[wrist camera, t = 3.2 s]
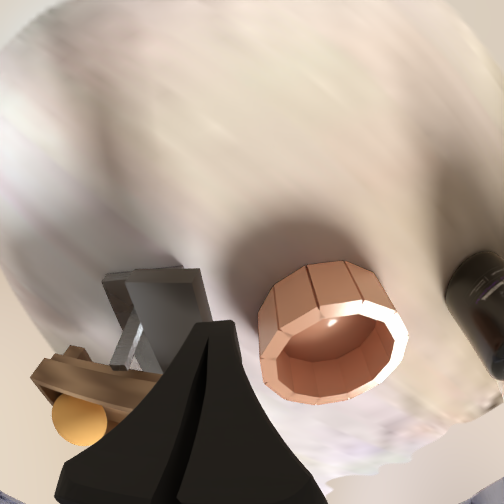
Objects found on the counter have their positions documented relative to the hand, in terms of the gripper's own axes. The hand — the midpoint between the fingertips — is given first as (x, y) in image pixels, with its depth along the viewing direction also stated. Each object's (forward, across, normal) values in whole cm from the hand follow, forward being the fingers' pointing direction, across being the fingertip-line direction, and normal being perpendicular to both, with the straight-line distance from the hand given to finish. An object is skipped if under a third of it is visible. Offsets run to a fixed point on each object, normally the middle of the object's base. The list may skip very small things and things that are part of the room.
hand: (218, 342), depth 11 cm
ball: (+1, +11, +8) cm, 14 cm away
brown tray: (+5, +6, +5) cm, 9 cm away
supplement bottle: (+10, -20, +7) cm, 24 cm away
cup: (+10, -6, +8) cm, 14 cm away
